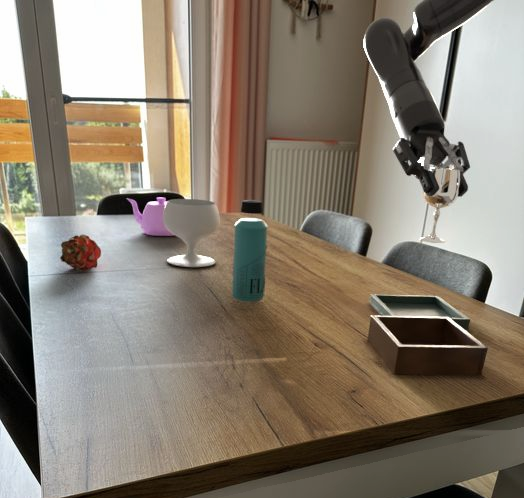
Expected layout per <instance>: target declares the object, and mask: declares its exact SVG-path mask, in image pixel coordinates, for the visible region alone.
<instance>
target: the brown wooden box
mask: <svg viewBox="0 0 524 498" xmlns="http://www.w3.org/2000/svg"><path fill="white" fill-rule="evenodd" d="M368 326H369V327H368V333H367V341H368V343H369V344H370V345H371V347H372V348H373V350H374V351H375V352H376V354H377V355H378V357H380V358H381V360H382V361H383V363H384V364H385V365H386V367H387V368H388V369H389V371H391V373H392V374H393V375H395V376H482V374H483V369H484V366H485V362H486V357H487V354H488V351H489V350H488V349H489V347H487V346H486V345H485V344H484V343H482V342H481V341H480V340H479V339H477V338H476V337H474V336H473V335H472V334H470V333H469V332H468V330H464V329H463V328H462V327H460V326H459V325H458V324H456V323H455V322H454V321H453V320H451V319H450V318H449V317H423V316H381V315H379V314H376V315H373V314H371V315H370V321H369V325H368ZM402 343H418V344H402ZM419 343H421V344H419ZM422 343H423V344H422ZM424 343H427V344H424ZM429 343H431V344H429ZM437 344H438V345H437Z"/></svg>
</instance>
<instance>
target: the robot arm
mask: <svg viewBox="0 0 524 498" xmlns="http://www.w3.org/2000/svg"><path fill="white" fill-rule="evenodd" d="M494 1H495V0H421V1H420V2H419V3H418V4H417V5H416V6H415V7H414V9H413V12H412V16H413V22H412V24H411V25H410V27H408V29H406V31H405V32H403V29H402V27H401V25H400V24H399V22H397V20H396V19H394V18H391V17H385V16H384V17H379V18H376V19H375V20H374V21H372V22H371V23H370V25H368V27H367V28H366V31H365V32H364V36H363V48H364V51H365V54H366V56H367V58H368V61H369V62H370V64H371V66H372V68H373V70H374V72H375V74H376V76H377V78H378V80H379V83H380V85H381V89H382V92H383V95H384V98H385V101H386V103H387V105H388V107H389V112H390V116H391V119H392V122H393V124H394V127H395V129H396V131H397V134H398V136H399V140H398V141H397V142H396V144H395V145H394V146H393V148H392V151H393V153H394V155H395V157H396V159H397V160H398V162H399V164H400V166H401V168H402V170H403V171H404V173H405V175H406V176H408V177H411V176H414V177H415V178H416V179H417V180H419V183H420V186H421V188H422V191H423V193H424V192H425V193H426V195H427V196H433V195H434V193H435V192H436V191H437V190H438V186H437V183H436V181H435V179H434V176H433V174H432V171H430V169H431V167H430V165H431V166H435V168H450V166H452V168H453V169H458V170H460V189H459V194H458V197H457V198H459V197H460V198H461V197H463V196H464V195H466V193H467V192H468V190H469V185H468V183H467V180H466V177H465V176H464V175H465V173H466V172H467V171H468V170H469V169H470V168H471V165H470V162H469V158H468V155H467V151H466V148H465V145H464V143H463V142H462V141H458V142H457V143H456V144H454V143H451V142H450V141H449V139H448V138H447V137H446V136H445V127H446V124H445V121H444V118H443V116H442V114H441V112H440V109H439V107H438V106H437V105H438V104H437V103H436V100H435V98H434V96H433V94H432V92H431V90H430V89H429V87H428V86H427V83H426V82H425V79H424V77H423V75H422V73H421V70H420V69H419V67H418V66H417V63H416V61H417V60H418V59H419V58H420V57H421V56H422V55H423V54H424V53H425V52H426V51H427V50H429V48H431V46H433V44H434V43H435V42H436V41H438V40H440V39H442V38H443V37H445V36H447V35H448V34H450V33H451V32H453V31H454V30H456V29H458V28H459V27H461V26H463V25H464V24H465V23H467V22H468V21H470V20H471V19H472V18H474V17H475V16H477V15H479V13H481V12H482V11H483V10H485V8H487V7H488V6H489V5H490V4H492V3H493V2H494ZM446 159H447V160H446ZM445 160H446V161H445ZM444 161H445V162H444ZM409 162H410V164H409ZM443 162H444V163H443Z"/></svg>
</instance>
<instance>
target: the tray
mask: <svg viewBox="0 0 524 498" xmlns="http://www.w3.org/2000/svg"><path fill="white" fill-rule="evenodd" d="M369 305H370V306H371V307H372V308H373V310H374V311H376V312H377V314H378V315H379V316H423V317H449V318H450V319H451V320H453V321H454V322H455V323H456V324H458V325H459V326H460V327H462V328H463V329H464V330H465V331H468V330H469V328H470V323H471V319H470V318H469V317H468V316H466V315H465V314H464V313H463V312H461V311H460V310H459V309H457V308H455V306H452V305H451V304H449V302H447V301H446V300H444V299H443V298H442V297H440V296H439V295H417V294H416V295H415V294H378V293H376V294H375V293H370V297H369Z"/></svg>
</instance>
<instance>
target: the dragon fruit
mask: <svg viewBox="0 0 524 498" xmlns="http://www.w3.org/2000/svg"><path fill="white" fill-rule="evenodd" d="M60 247H61V254H62V255H61V256H60V257H59V258H60V261H61V262H62V263H65V264H66V265H68V266H69V267H71V268H73V269H74V270H76V271H78V272H83V271H85V270H86V269H87V268H89V269H96V268H97V267H98V259H99V258H101V256H102V250H101V248H100V246H99V245H98V244H97V242H96V241H95V240H94V239H92V238H90V236H89V235H87V234H80V235H74V236H72V237H70V238H69V239H68V240H64V241H62V242H61V244H60Z"/></svg>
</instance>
